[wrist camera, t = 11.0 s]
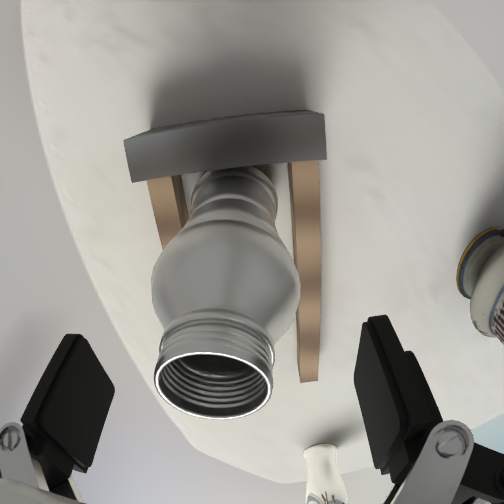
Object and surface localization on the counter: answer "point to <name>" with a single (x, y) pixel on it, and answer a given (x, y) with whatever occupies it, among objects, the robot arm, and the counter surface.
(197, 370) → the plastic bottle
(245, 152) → the guide track
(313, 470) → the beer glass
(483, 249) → the apothecary jar
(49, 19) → the counter surface
